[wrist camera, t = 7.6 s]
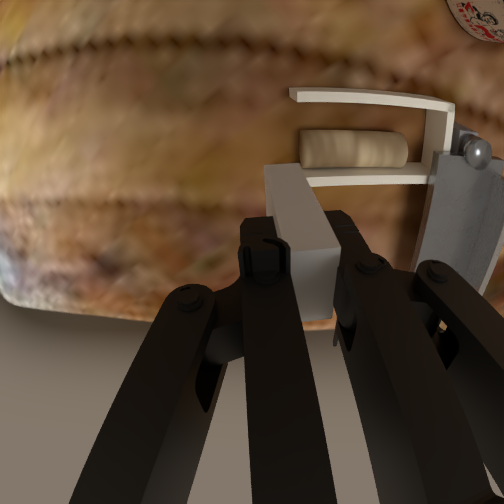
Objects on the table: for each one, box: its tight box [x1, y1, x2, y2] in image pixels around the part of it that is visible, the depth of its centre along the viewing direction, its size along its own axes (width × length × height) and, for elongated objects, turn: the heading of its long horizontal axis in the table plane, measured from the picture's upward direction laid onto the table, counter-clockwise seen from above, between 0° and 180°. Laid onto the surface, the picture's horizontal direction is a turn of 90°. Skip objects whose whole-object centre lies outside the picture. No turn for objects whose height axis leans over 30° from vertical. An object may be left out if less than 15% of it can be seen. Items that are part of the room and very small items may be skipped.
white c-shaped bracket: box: [289, 87, 478, 187], centre depth 24 cm, size 8×17×4 cm, turn 94°
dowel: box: [299, 130, 408, 168], centre depth 25 cm, size 9×3×3 cm
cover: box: [409, 134, 504, 296], centre depth 25 cm, size 9×18×4 cm, turn 4°
